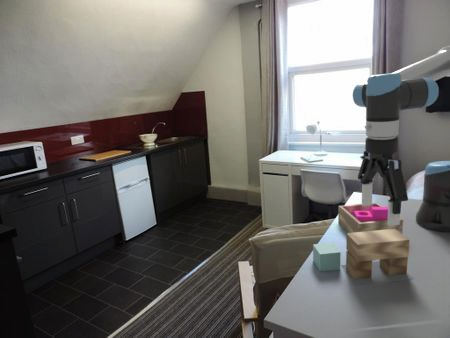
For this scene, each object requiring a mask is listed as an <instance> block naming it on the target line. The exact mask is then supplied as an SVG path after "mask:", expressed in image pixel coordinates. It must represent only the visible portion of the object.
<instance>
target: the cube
mask: <svg viewBox="0 0 450 338" xmlns="http://www.w3.org/2000/svg"><path fill="white" fill-rule="evenodd" d="M312 260H313V263H314V264H315V266H316V268H317V269H318V270H319V272H328V271H337V270H338V271H339V270H341V251H340V249H338V247H337V246H336V245H335V244H334V242H325V243H315V244H312Z"/></svg>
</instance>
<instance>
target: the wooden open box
mask: <svg viewBox="0 0 450 338" xmlns="http://www.w3.org/2000/svg"><path fill="white" fill-rule="evenodd" d="M371 207H384V206H383V205H382V204H380V203H378V202H376V201H375V202H372V205H370V206H362V203H355V204H345V205H338V212H337V213H338V219H337V221H338V224H339V225H340V226H341V228H343V229H344V230H345V232H346V233H354V232H365V231H375V230H386V229H396V230H397V231H398V232H400V233H401V234H402V235H403V230H404V228H403V226H404V219H403V218H401V217H400V225H392V226H389V225H387V223H388V219H383V220H381V221H371V222H360V221H359V220H357V219H356V218H355V217H354V216H353V212H354V211H369V210H370V208H371Z"/></svg>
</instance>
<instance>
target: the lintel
mask: <svg viewBox="0 0 450 338" xmlns="http://www.w3.org/2000/svg"><path fill="white" fill-rule="evenodd" d="M345 248H346V249H345V250H346V251H348V252H349V253H350V254H351V255H352V256H353V257H354V258H355V260H356V261H357V262H359V261H369V260H372V261H376V260H377V261H378V260H379V261H380V259H390V258H400V257H408V258H409V252H410V239H409V238H408V237H406V236H405V235H404V234H403V233H402V234H401V233H400V232H398V231H397V230H396V229H386V230H375V231H365V232H354V233H348V232H346V245H345Z"/></svg>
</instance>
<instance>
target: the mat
mask: <svg viewBox="0 0 450 338" xmlns="http://www.w3.org/2000/svg"><path fill="white" fill-rule="evenodd" d="M340 267H341V269H343V270H344V271H345V272H346V274H347V275H348V277H349V278H350V279H351V281H352V282H353V283H354V285H355V286H359V285H360V286H361V285H362V286H363V285H370V284H378V283H379V284H380V283H387V282H389V283H390V282H396V281H397V282H398V281H408V280H414V279H415V278H414V277H412V275H410V273H408V272H407V274H401V275H391V276H389V275H388V274H387V273H386V272H385V271H384V270H383V269H382V268H381V267H380V260H379V261H378V260H377V261H376V260H375V261H372V277H371V278H363V279H353V278H352V277H351V275H350V274H349V273H348V271H347V270H346V264H340Z"/></svg>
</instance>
